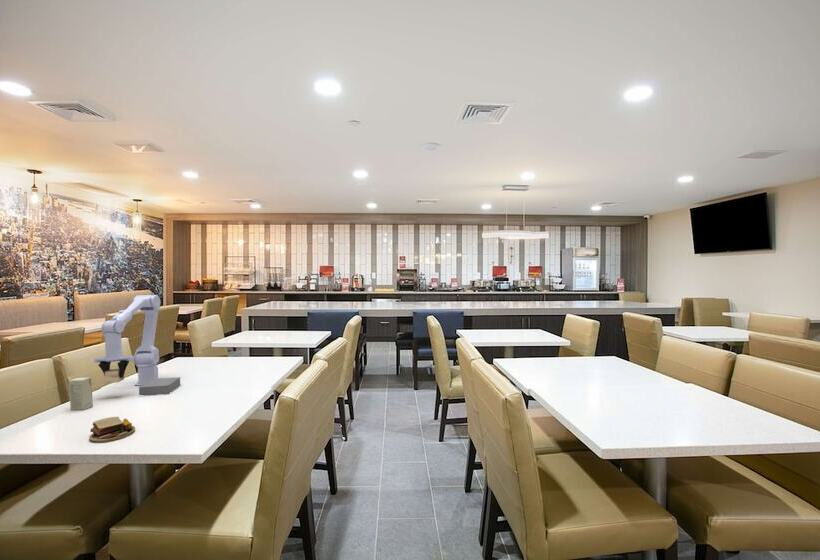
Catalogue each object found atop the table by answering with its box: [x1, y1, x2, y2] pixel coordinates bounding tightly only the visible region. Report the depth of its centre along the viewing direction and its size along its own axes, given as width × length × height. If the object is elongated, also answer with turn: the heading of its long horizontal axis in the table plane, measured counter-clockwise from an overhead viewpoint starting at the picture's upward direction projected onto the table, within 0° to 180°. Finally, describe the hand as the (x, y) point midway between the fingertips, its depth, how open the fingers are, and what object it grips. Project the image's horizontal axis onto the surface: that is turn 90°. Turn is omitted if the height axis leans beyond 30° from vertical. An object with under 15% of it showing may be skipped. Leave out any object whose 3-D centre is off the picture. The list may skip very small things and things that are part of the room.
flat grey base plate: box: [138, 376, 181, 396], centre depth 184 cm, size 14×12×4 cm
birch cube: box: [104, 368, 125, 384], centre depth 175 cm, size 5×5×5 cm
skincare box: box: [68, 377, 94, 411], centre depth 161 cm, size 6×4×12 cm
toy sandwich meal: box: [88, 416, 136, 443], centre depth 134 cm, size 12×14×5 cm
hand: (114, 377), depth 175 cm, fingers closed on birch cube, 5 cm apart
